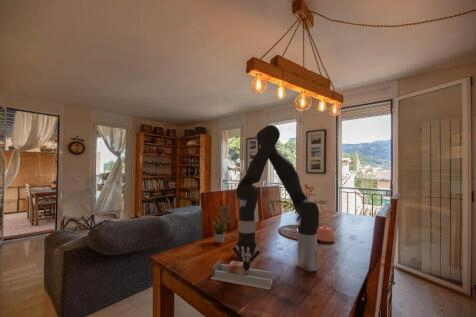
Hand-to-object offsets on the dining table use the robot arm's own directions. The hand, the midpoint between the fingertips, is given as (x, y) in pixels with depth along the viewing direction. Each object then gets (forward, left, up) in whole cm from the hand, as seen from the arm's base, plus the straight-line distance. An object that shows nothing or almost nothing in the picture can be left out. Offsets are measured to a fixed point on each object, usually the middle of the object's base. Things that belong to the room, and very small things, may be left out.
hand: (246, 269), depth 97 cm
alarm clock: (+7, -22, -5) cm, 24 cm away
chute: (+2, 0, -5) cm, 5 cm away
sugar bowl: (-35, -69, -5) cm, 78 cm away
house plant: (+30, -42, -5) cm, 52 cm away
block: (+5, 0, -4) cm, 6 cm away
